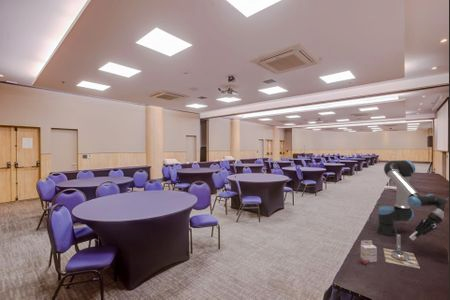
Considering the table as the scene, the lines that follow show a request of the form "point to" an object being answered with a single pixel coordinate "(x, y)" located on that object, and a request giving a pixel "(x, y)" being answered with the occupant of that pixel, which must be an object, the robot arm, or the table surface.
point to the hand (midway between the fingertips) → (411, 238)
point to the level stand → (411, 262)
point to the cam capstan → (399, 251)
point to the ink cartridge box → (368, 252)
